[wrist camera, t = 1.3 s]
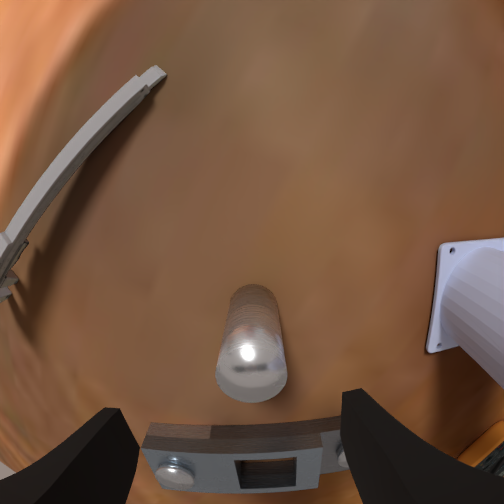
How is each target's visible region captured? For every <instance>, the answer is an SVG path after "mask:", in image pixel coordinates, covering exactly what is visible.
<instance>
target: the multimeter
mask: <svg viewBox="0 0 504 504" xmlns="http://www.w3.org/2000/svg"><path fill="white" fill-rule="evenodd" d="M457 460H459V461H461V462H463V463H465V464H467V465H470V466H472V467H475V468H478V469H480V470H483V471H486V472H489V473H492V474H495V475H498V476H502V477H504V421H499V422H497V423H495V424H494V425H492V426H491V427H490V428H489V429H488V430H487V431H486V432H485V433H484V434H483V435H481V436H480V437H479V438H478V439H477V440H476V441H475V442H474V443H473V444H471V445H470V446H469V447H468V448H467V449H466V450H465V451H464V452H463V453H461V455H460V456H459V457H458V459H457Z"/></svg>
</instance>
